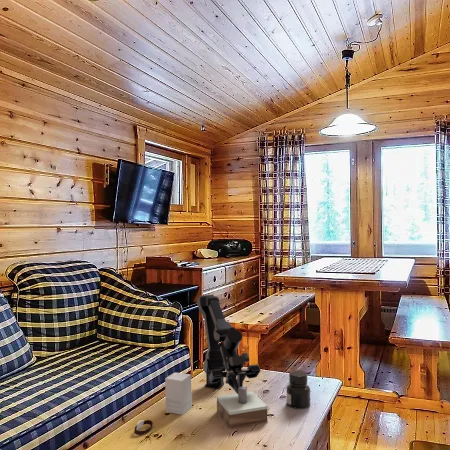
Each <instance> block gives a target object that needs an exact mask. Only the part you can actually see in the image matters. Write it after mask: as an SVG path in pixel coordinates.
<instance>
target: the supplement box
mask: <svg viewBox="0 0 450 450" xmlns="http://www.w3.org/2000/svg"><path fill="white" fill-rule="evenodd" d="M164 382H165V385H164V386H165V390H164V391H165V413H171V414H175V415H182V416H183V415H185V414H186V413H187V412H188V411H189V410H190V409H192V407H193V406H192V404H193V403H192V402H193V400H192V397H193V396H192V374H188V373H183V372H182V373H181V372H173V373H172V374H170V375H168V376H167V377H165V379H164Z"/></svg>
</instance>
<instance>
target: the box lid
mask: <svg viewBox="0 0 450 450" xmlns="http://www.w3.org/2000/svg"><path fill="white" fill-rule="evenodd" d="M217 400H218V401H219V402H220V404H221V405H222V406H223V407H224V409H225V410H226V411H227V412H228V413H229V415H233V414H239V413H245V412H251V411H258V410H264V409H267V410H268V405H267V404H266V403H265V402H264V401H263V400H262V399H261V398H260V397H259V396H257V394H256V393H255V392H253V391H248V389H247V387H246V386H243V387H239V388H238V394H237V393H233V394H225V395H224V394H223V395H220V396H219V395H218V396H216V401H217Z"/></svg>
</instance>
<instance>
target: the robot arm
mask: <svg viewBox="0 0 450 450" xmlns="http://www.w3.org/2000/svg"><path fill="white" fill-rule="evenodd" d="M196 305H197V307H198V310H199V312H200V313H201V315H202V316H203V320H204V327H205V334H206V336H205V337H206V342H207V343H206V344H207V351H206V354H205V360H204V362H203V365H202V370H203V372H204V373H205V375H206V376H205V378H206V383H205V384H204V387H205V388H210V389H211V388H212V389H216V390H217V389H220V388H221V387H223V386H224V385H226V384H227V385H228V386H229V387H231V389H233V391H234V392H235V394H238V388H239V387H244V385H243V384H244V381H245V379H246V378H248V379H255V378H257V377H258V376H259V374H260V373H261V367H260V365H259V364H257V363H256V364H250V365H248V366H247V368H245V369H242V368H244V365H246V363H248V362H250V357H249V353H248V352H243V353H241V354H239V353H238V351H237V349H238V348H239V345H240V343H241V341H242V339H243V335H242V333H241V331H239V330H237V329H235V326H232V324H231V323H230V322H228V321H227V320H226V318H225V315H224V313H223V311H222V307H221V304H220V298H219V297H218V296H216V295H214V294H205V295H204V294H203V295H199V296H198V298H197V299H196ZM220 343H221V344H220ZM219 345H220V346H219ZM224 378H225V380H224ZM224 381H225V382H224Z"/></svg>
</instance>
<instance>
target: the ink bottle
mask: <svg viewBox="0 0 450 450" xmlns="http://www.w3.org/2000/svg"><path fill="white" fill-rule="evenodd" d="M288 377H289V378H288V379H289V380H288V381H289V384H288V385H286V405H287V406H288V407H290V408H292V409H297V410H304V409H307V408H309V407H310V406H311V388H310V386H309V385H308V373H307V371H303V370H292V371H289V373H288Z"/></svg>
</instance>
